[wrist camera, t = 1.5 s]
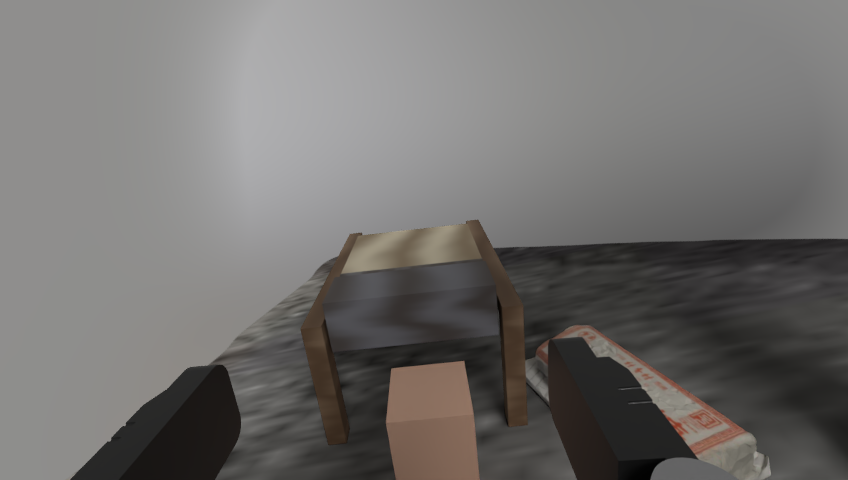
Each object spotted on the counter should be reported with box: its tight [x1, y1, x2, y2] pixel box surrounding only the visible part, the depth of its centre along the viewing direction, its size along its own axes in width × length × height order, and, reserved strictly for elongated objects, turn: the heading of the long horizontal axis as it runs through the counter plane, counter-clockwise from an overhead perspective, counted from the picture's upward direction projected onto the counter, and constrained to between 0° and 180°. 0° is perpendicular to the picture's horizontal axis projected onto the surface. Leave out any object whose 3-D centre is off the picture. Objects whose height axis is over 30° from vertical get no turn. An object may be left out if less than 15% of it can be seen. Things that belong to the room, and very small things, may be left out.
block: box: [386, 361, 479, 480], centre depth 27 cm, size 5×5×10 cm
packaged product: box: [525, 325, 771, 480], centre depth 34 cm, size 18×5×10 cm
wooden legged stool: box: [301, 220, 528, 445], centre depth 44 cm, size 17×24×12 cm
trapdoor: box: [322, 224, 499, 352], centre depth 40 cm, size 13×19×4 cm
